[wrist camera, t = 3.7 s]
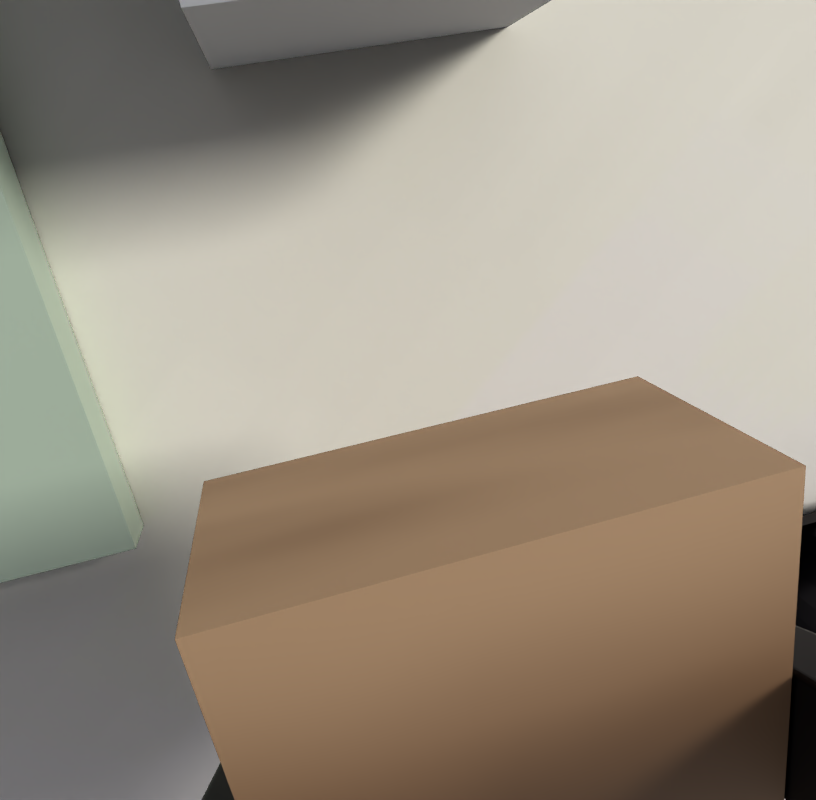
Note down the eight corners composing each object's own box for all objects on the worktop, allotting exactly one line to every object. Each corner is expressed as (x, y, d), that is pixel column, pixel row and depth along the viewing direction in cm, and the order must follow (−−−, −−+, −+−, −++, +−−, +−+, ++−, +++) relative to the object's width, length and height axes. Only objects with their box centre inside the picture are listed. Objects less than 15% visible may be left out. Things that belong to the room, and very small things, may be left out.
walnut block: (651, 742, 12) (776, 922, 9) (320, 852, 11) (342, 1090, 8) (637, 376, 9) (805, 465, 6) (203, 481, 8) (173, 638, 5)
